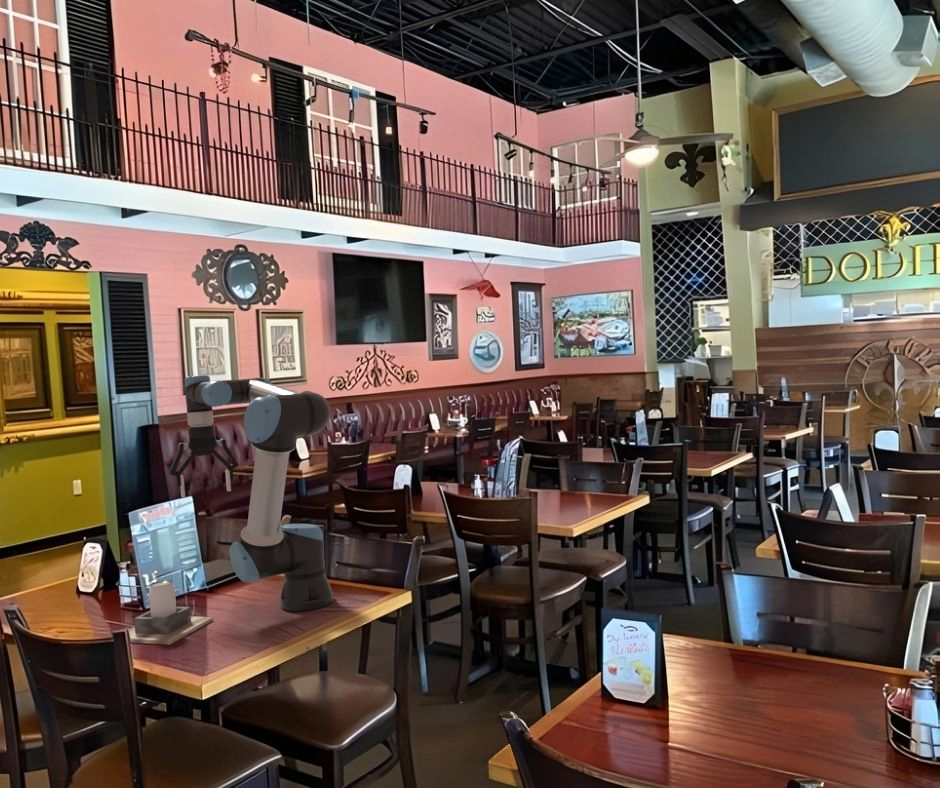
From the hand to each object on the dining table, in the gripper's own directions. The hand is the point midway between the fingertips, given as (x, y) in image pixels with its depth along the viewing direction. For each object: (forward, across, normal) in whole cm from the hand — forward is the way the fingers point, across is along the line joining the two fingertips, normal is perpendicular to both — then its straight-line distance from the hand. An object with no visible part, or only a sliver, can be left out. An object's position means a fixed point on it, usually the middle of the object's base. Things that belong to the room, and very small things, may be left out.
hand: (206, 494), depth 238 cm
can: (+31, +17, +26) cm, 44 cm away
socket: (+32, +18, +26) cm, 45 cm away
